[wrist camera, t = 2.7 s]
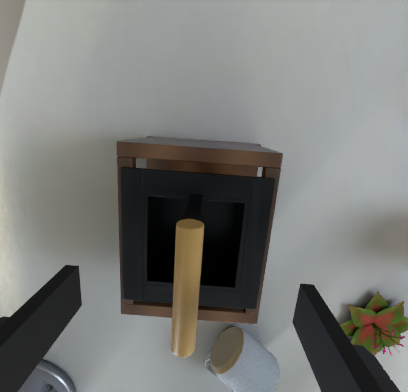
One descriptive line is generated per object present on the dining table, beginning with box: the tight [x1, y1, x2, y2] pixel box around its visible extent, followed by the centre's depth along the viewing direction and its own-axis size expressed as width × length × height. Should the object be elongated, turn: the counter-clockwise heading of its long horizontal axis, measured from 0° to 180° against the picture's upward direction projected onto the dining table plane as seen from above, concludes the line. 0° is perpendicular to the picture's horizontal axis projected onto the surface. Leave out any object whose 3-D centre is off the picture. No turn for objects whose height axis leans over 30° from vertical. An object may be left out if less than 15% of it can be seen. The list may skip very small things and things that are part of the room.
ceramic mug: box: [205, 327, 279, 392], centre depth 37 cm, size 11×8×8 cm
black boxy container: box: [120, 167, 276, 357], centre depth 21 cm, size 12×12×14 cm
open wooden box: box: [117, 136, 283, 324], centre depth 28 cm, size 14×16×13 cm
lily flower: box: [340, 291, 408, 355], centre depth 36 cm, size 12×12×5 cm
